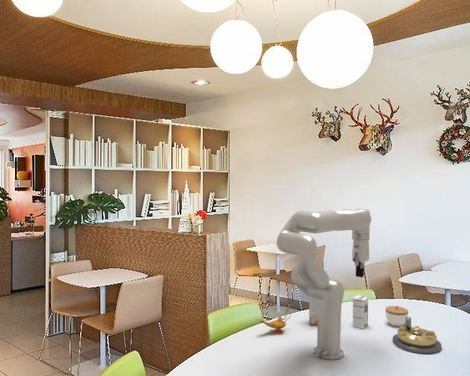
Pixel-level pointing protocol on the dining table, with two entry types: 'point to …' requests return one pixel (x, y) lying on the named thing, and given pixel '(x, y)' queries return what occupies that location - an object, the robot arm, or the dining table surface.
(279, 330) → the magic lamp
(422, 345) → the gold dish
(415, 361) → the dining table surface
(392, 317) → the lidded jar
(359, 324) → the syrup box
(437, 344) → the base
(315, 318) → the cracker box
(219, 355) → the dining table surface
